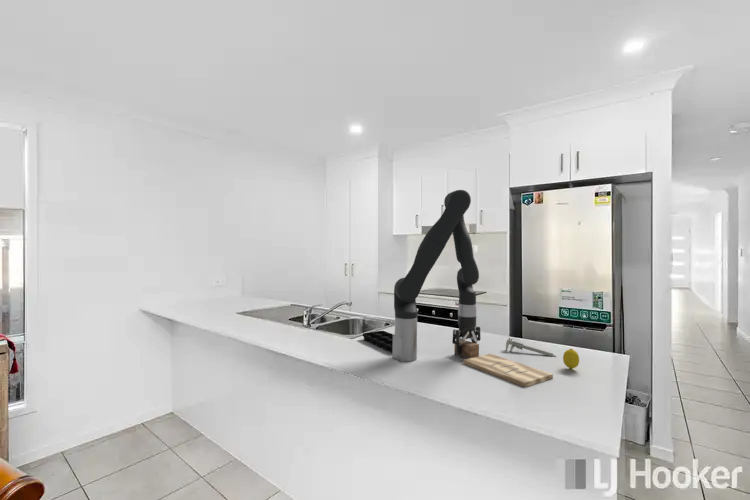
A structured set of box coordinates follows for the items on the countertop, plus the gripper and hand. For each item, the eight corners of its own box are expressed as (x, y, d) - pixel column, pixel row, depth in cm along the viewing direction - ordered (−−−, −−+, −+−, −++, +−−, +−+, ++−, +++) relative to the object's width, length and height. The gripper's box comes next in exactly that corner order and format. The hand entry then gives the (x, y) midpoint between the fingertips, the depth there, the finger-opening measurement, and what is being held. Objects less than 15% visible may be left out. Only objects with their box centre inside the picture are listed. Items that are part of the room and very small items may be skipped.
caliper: (505, 351, 167) (506, 337, 167) (506, 350, 168) (506, 336, 168) (556, 357, 158) (556, 342, 158) (556, 356, 159) (556, 342, 159)
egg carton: (399, 357, 156) (399, 348, 156) (352, 342, 178) (353, 335, 178) (425, 349, 169) (425, 340, 169) (378, 336, 190) (378, 329, 190)
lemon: (577, 367, 144) (578, 347, 144) (580, 372, 139) (580, 351, 139) (561, 366, 146) (562, 346, 146) (563, 370, 141) (564, 349, 141)
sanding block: (478, 358, 155) (479, 344, 155) (470, 360, 152) (471, 346, 152) (462, 353, 162) (462, 339, 162) (454, 355, 159) (454, 341, 159)
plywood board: (524, 387, 124) (525, 382, 124) (463, 363, 148) (463, 359, 148) (552, 378, 133) (552, 374, 133) (490, 357, 156) (490, 353, 156)
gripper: (472, 311, 164) (471, 348, 164) (448, 314, 156) (447, 352, 156) (485, 314, 157) (484, 352, 158) (461, 317, 150) (460, 357, 150)
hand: (466, 352), depth 157 cm, fingers open, 8 cm apart
